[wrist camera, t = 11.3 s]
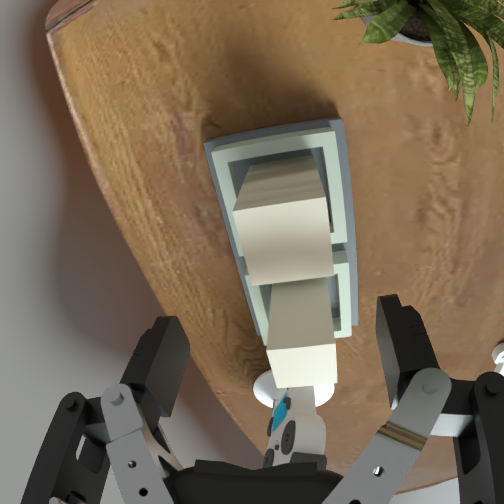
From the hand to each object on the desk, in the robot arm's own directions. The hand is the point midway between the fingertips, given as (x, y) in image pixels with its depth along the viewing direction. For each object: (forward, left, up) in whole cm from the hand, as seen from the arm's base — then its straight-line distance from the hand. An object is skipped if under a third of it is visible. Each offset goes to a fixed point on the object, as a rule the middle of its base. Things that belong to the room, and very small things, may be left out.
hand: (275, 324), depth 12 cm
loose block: (0, 0, -16) cm, 16 cm away
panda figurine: (+29, -3, -17) cm, 34 cm away
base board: (+6, 0, -17) cm, 18 cm away
